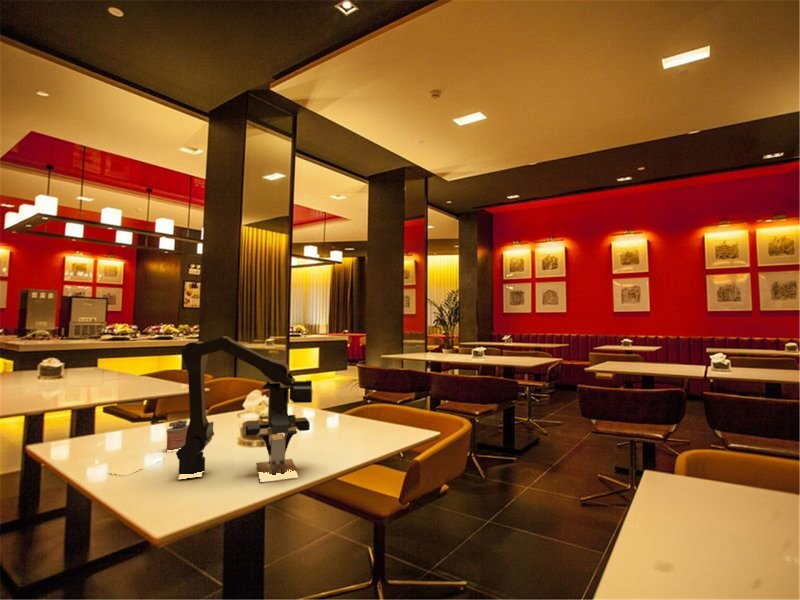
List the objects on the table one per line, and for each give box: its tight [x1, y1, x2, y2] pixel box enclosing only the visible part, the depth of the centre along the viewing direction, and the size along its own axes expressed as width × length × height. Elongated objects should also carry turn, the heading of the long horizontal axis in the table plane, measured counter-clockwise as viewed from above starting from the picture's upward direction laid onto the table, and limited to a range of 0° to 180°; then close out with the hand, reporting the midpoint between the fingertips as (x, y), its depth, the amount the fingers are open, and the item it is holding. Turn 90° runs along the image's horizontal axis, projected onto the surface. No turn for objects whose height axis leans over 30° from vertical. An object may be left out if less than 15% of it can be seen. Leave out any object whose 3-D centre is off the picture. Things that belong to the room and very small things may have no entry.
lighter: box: [165, 419, 189, 451], centre depth 150 cm, size 8×3×10 cm, turn 149°
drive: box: [268, 433, 286, 465], centre depth 130 cm, size 4×7×7 cm, turn 23°
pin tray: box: [255, 458, 298, 475], centre depth 130 cm, size 11×14×4 cm
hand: (276, 454), depth 130 cm, fingers closed on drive, 4 cm apart
